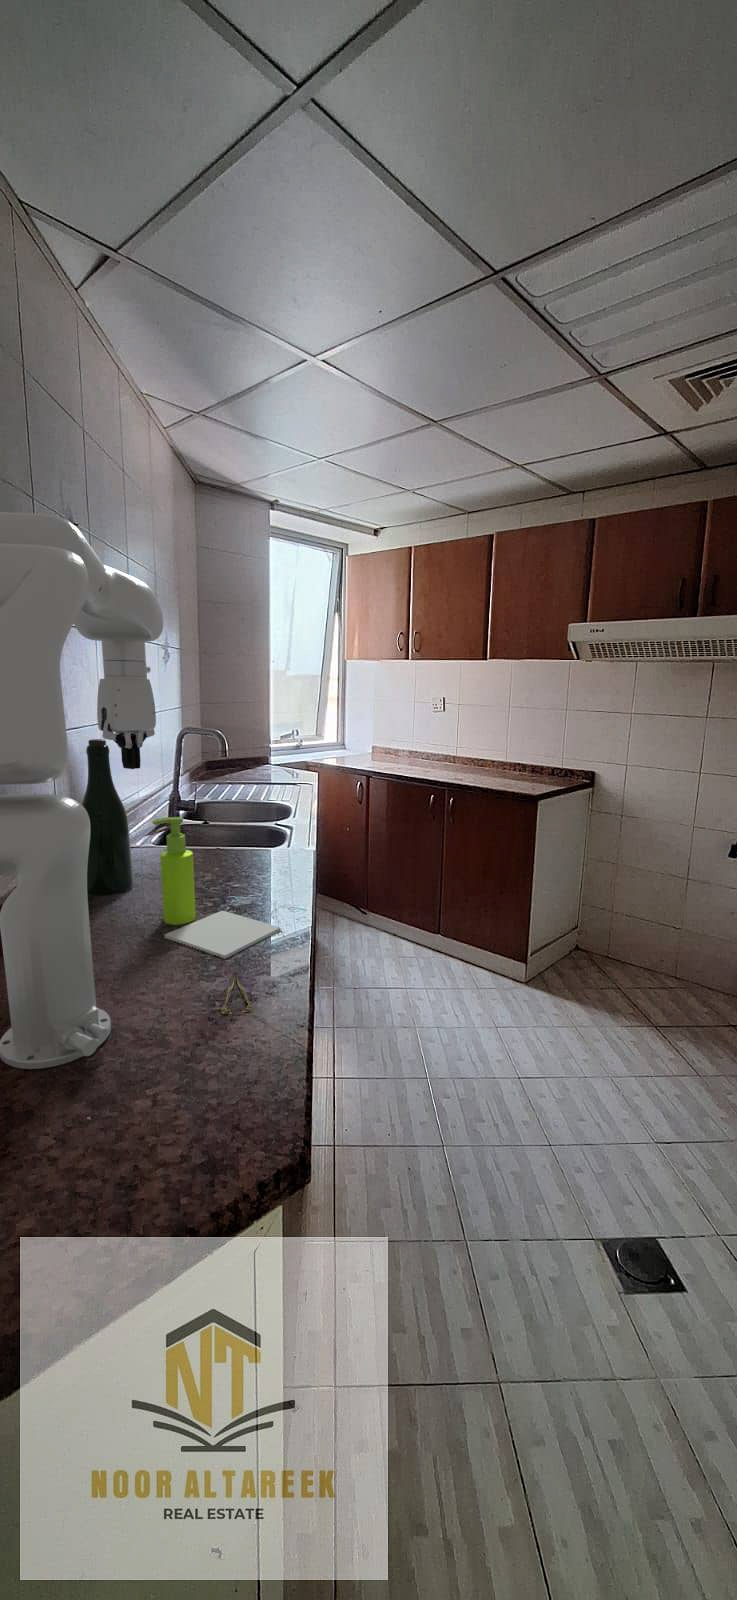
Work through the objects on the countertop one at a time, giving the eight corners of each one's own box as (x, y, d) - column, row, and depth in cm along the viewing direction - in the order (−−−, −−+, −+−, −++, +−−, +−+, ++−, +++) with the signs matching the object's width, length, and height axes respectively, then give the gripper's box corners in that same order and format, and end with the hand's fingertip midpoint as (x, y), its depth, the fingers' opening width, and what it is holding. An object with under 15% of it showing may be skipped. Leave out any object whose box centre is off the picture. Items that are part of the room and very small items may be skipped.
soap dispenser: (156, 916, 116) (150, 816, 112) (193, 911, 119) (188, 813, 115) (159, 927, 110) (153, 823, 107) (198, 921, 113) (193, 819, 110)
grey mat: (280, 930, 110) (280, 927, 110) (224, 958, 98) (224, 955, 98) (222, 913, 118) (222, 910, 118) (164, 937, 106) (164, 934, 106)
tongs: (242, 974, 95) (242, 963, 94) (253, 1020, 83) (253, 1007, 82) (215, 978, 93) (215, 966, 93) (222, 1025, 81) (221, 1012, 81)
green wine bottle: (136, 880, 137) (126, 736, 131) (130, 895, 127) (120, 741, 121) (86, 883, 134) (75, 737, 128) (77, 899, 124) (63, 742, 118)
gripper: (146, 672, 120) (151, 762, 123) (76, 670, 107) (84, 771, 111) (171, 672, 116) (175, 765, 119) (101, 670, 103) (109, 774, 107)
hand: (131, 767), depth 115 cm, fingers closed
